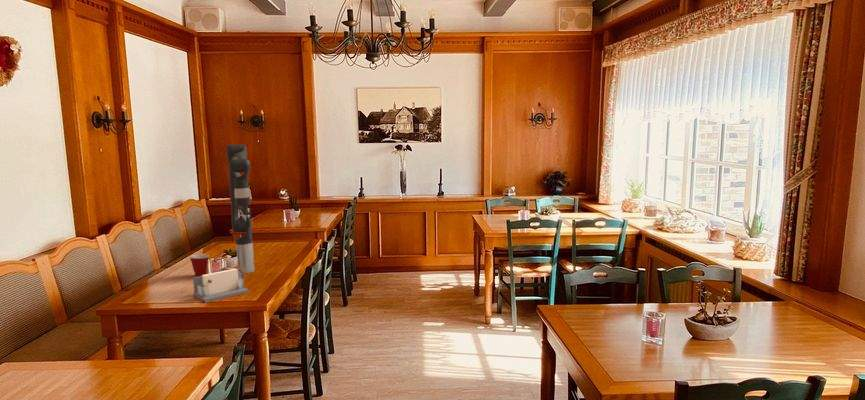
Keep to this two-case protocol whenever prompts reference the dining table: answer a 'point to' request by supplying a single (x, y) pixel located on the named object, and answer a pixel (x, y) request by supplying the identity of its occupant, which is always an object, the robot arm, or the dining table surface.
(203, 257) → the plastic cup
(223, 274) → the door
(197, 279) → the hinge bracket
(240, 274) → the tin
